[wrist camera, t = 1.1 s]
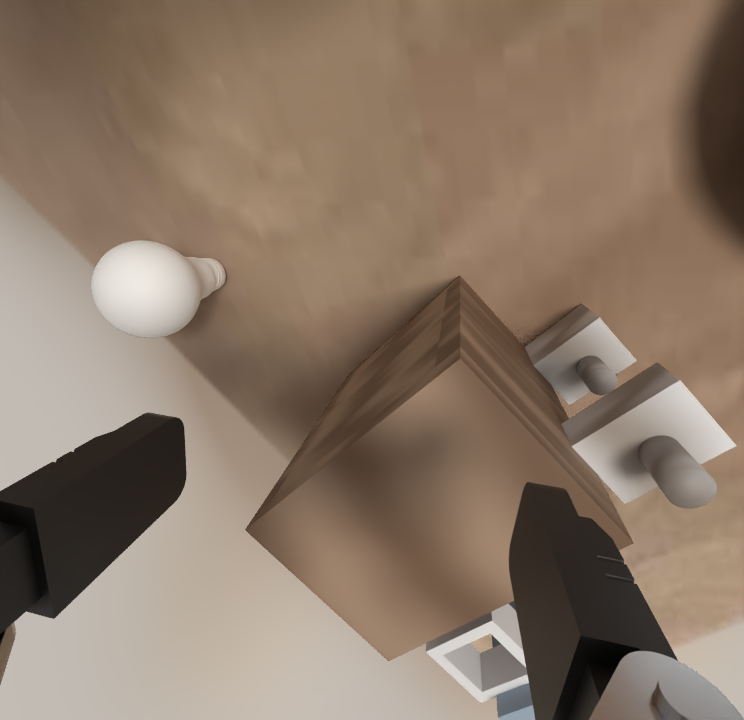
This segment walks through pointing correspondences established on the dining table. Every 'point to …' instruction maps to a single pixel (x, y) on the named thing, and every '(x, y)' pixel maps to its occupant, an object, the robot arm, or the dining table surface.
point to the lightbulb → (152, 287)
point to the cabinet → (471, 464)
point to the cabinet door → (489, 662)
